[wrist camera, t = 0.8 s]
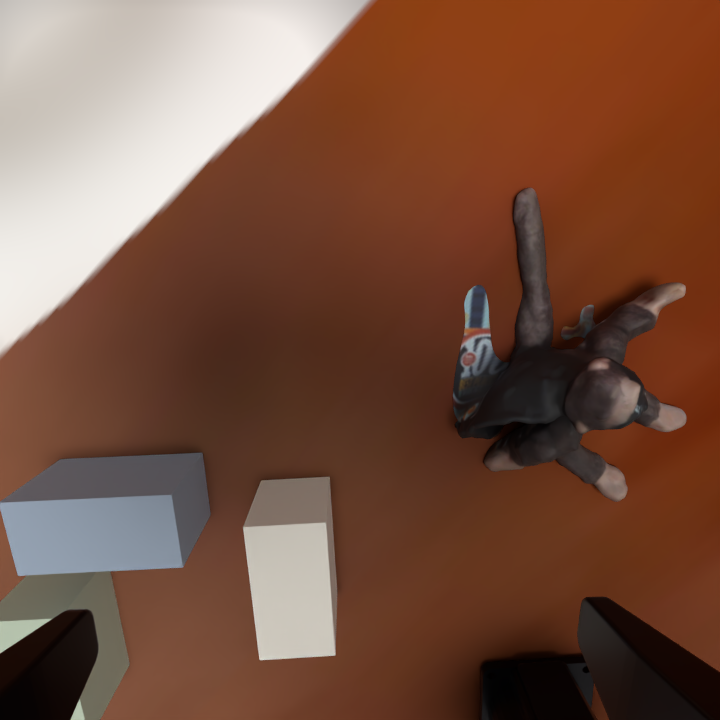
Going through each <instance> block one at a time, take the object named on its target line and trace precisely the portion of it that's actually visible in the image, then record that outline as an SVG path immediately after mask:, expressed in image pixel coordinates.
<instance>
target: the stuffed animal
mask: <svg viewBox="0 0 720 720" xmlns="http://www.w3.org/2000/svg"><path fill="white" fill-rule="evenodd" d="M513 220H514V225H515V229H516V238H517V246H518V248H517V254H518V261H519V265H520V270H521V279H522V283H523V295H522V300H521V304H520V308H519V311H518V315H517V320H516V324H515V339H516V347H515V349H514V351H513V353H512V354H511V359H510V362H507V363H506V362H503V361H501V360H500V359H498V358H497V356H496V355H495V353H494V351H493V348H492V343H491V333H490V325H489V308H488V301H487V294H486V291H485V289H484V288H483V286H481V285H477V286H474V287H473V288H472V289H470V290H469V292H468V294H467V296H466V299H465V304H464V307H465V331H464V336H463V341H462V345H461V348H460V352H459V357H458V361H457V366H456V372H455V378H454V388H453V407H454V413H455V416H456V418H457V419H458V421H457V422H456V423H455V427H456V428H457V430H458V434H459V436H460V437H461V438H468V437H474V438H485V439H491V438H493V437H495V436H497V435H498V434H499V433H500V432H501V430H502V428H503V425H506V424H509V423H511V422H522V423H526V424H525V425H524V426H522V427H520V428H518V429H516V430H514V431H513V432H511V433H510V434H508V435H507V436H505V437H504V438H502V439H501V440H499V441H497V442H496V443H494V444H493V445H492V446H491V448H490V449H489V450H488V452H487V454H486V457H485V460H484V464H485V465H486V466H487V468H489V469H490V470H491V471H494V472H496V471H500V470H514V469H523V468H524V467H526V466H534V465H538V464H540V463H545V462H551V461H553V460H555V459H556V460H557V461H558V463H559V464H560V465H561V466H564V467H566V468H567V469H568V470H570V471H571V472H572V473H573V474H575V475H577V476H579V477H580V478H581V479H582V481H583V482H585V483H588V484H594V485H595V486H596V487H597V488H598V490H599V491H600V492H601V493H602V494H603V495H604V496H605V497H607V498H609V499H611V500H612V501H615V502H617V501H620V500H622V499H623V498H625V496H626V494H627V490H628V488H627V486H626V483H625V477H624V475H623V473H622V472H621V471H620V470H619V469H618V468H616V467H615V466H612V465H609V464H607V463H606V462H605V461H604V459H603V458H602V457H601V456H600V455H598V454H597V453H594V452H592V451H590V450H588V449H586V448H585V447H583V446H582V445H580V441H581V438H582V435H583V434H584V433H586V432H588V431H591V430H605V429H621V428H624V427H626V426H627V425H629V424H631V423H632V422H633V421H635V422H637V423H639V424H641V425H643V426H646V427H650V428H653V429H656V430H658V431H662V432H669V431H673V430H675V429H678V428H680V427H682V426H683V425H684V424H685V423H686V414H685V413H684V412H683V410H681V409H680V408H677V407H674V406H670V405H667V404H663V403H660V402H659V400H658V399H657V398H656V397H655V396H654V395H652V394H651V393H649V392H648V391H646V390H645V389H644V386H643V383H642V382H641V380H640V379H639V378H638V377H637V375H636V374H635V372H633V371H631V370H630V369H628V368H627V367H625V366H623V365H622V363H623V361H624V357H625V352H626V347H627V344H628V341H630V340H631V339H633V338H634V337H636V336H638V335H640V334H642V333H644V332H647V331H649V330H651V329H653V328H654V326H655V324H656V321H657V318H658V314H659V312H660V310H661V309H662V308H663V307H664V306H666V305H668V304H669V303H671V302H673V301H675V300H677V299H680V298H682V297H683V296H684V295H685V291H686V287H685V285H683V284H681V283H666V284H662V285H659V286H656V287H654V288H652V289H650V290H648V291H646V292H644V293H643V294H641V295H640V296H639V297H637V298H636V299H635V300H633V301H632V302H629V303H626V304H624V305H622V306H620V307H619V308H617V309H616V310H615V311H614V312H613V313H612V314H611V315H610V316H609V317H608V318H607V319H605V320H604V321H602V322H600V323H599V324H597V325H596V324H595V322H594V321H593V313H594V306H593V305H588V306H586V307H585V308H583V310H582V312H581V314H580V322H579V323H578V324H577V325H576V326H575V327H573V328H571V327H568V326H565V327H564V328H563V329H562V331H561V337H562V338H563V339H564V340H569V339H571V338H573V337H582V338H585V339H584V341H583V342H582V343H581V344H580V345H579V346H578V347H576V348H575V349H563V350H560V349H555V348H554V347H551V342H552V339H553V317H552V312H553V309H552V305H551V302H550V292H549V288H548V285H547V282H546V279H547V273H546V252H545V239H544V230H543V223H542V219H541V213H540V207H539V203H538V198H537V195H536V192H535V191H534V189H532V188H526V189H524V190H522V191H521V192H520V193H519V194H518V195H517V197H516V200H515V206H514V213H513Z"/></svg>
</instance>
